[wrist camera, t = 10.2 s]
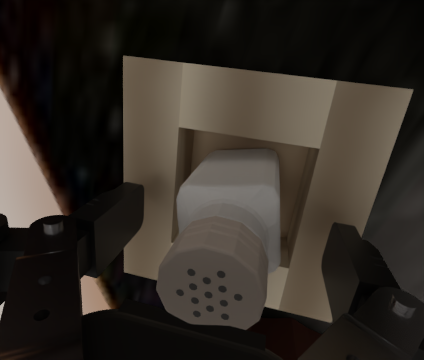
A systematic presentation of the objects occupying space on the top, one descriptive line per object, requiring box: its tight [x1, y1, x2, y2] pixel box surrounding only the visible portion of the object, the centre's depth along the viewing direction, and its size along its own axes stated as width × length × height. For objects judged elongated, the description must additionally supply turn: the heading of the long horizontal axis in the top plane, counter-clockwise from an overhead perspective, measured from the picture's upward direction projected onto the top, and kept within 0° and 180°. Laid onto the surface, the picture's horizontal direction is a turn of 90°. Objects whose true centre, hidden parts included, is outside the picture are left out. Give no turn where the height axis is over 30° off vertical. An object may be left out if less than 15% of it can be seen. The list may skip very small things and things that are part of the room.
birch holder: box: [123, 56, 413, 323], centre depth 16 cm, size 12×12×4 cm
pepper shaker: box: [156, 149, 281, 330], centre depth 12 cm, size 4×4×10 cm
